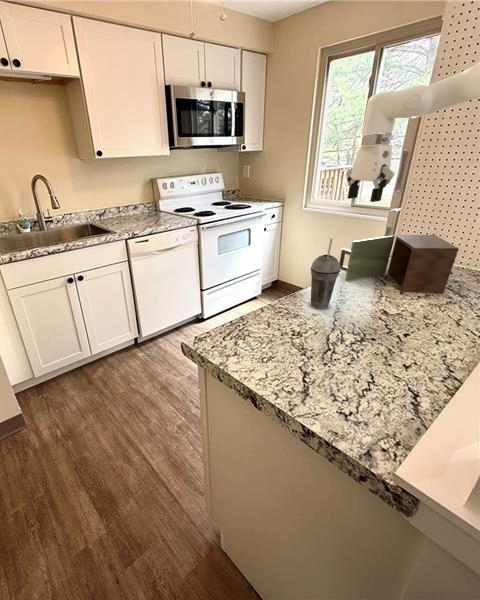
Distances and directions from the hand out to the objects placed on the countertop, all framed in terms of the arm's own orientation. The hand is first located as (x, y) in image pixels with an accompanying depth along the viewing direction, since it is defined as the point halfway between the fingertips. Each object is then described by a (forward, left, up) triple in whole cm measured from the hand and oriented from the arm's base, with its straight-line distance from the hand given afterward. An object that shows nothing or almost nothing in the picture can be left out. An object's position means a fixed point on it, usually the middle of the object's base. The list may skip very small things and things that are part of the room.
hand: (363, 199), depth 101 cm
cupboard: (-16, +9, -25) cm, 31 cm away
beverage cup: (+13, +30, -25) cm, 41 cm away
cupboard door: (-3, +3, -25) cm, 25 cm away
